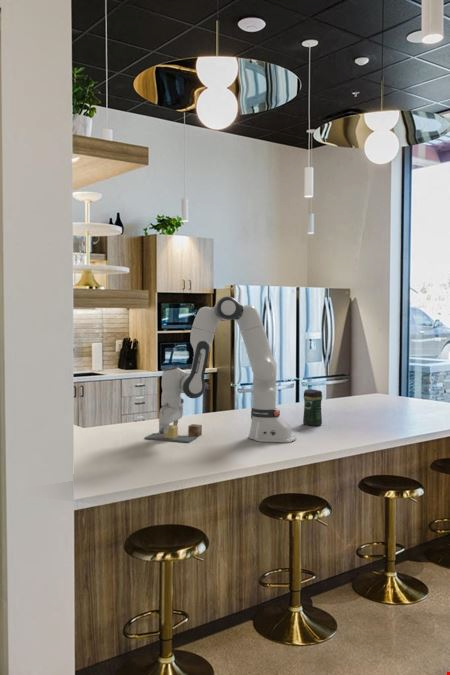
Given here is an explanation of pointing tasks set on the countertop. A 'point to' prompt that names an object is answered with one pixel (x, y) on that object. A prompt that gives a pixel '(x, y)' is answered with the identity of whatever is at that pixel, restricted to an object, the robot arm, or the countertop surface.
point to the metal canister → (161, 429)
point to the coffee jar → (312, 407)
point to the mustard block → (172, 432)
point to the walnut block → (194, 430)
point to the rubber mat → (178, 439)
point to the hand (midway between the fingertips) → (170, 431)
